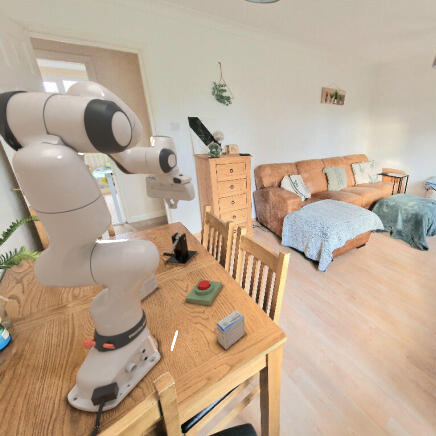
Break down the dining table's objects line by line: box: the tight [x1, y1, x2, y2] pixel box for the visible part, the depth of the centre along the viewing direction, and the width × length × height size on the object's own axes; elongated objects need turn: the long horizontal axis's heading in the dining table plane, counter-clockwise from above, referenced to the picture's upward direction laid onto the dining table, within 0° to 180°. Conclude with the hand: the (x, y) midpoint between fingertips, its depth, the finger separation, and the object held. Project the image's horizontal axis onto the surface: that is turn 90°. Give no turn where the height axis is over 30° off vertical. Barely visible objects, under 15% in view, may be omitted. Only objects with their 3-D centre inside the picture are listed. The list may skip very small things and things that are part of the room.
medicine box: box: [216, 309, 246, 350], centre depth 78 cm, size 8×4×9 cm, turn 141°
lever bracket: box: [165, 232, 198, 265], centre depth 121 cm, size 12×10×14 cm
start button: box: [197, 279, 210, 290], centre depth 98 cm, size 4×4×2 cm
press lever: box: [162, 233, 182, 258], centre depth 116 cm, size 12×6×2 cm, turn 171°
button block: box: [185, 279, 223, 306], centre depth 99 cm, size 12×10×4 cm
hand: (173, 208), depth 103 cm, fingers closed
